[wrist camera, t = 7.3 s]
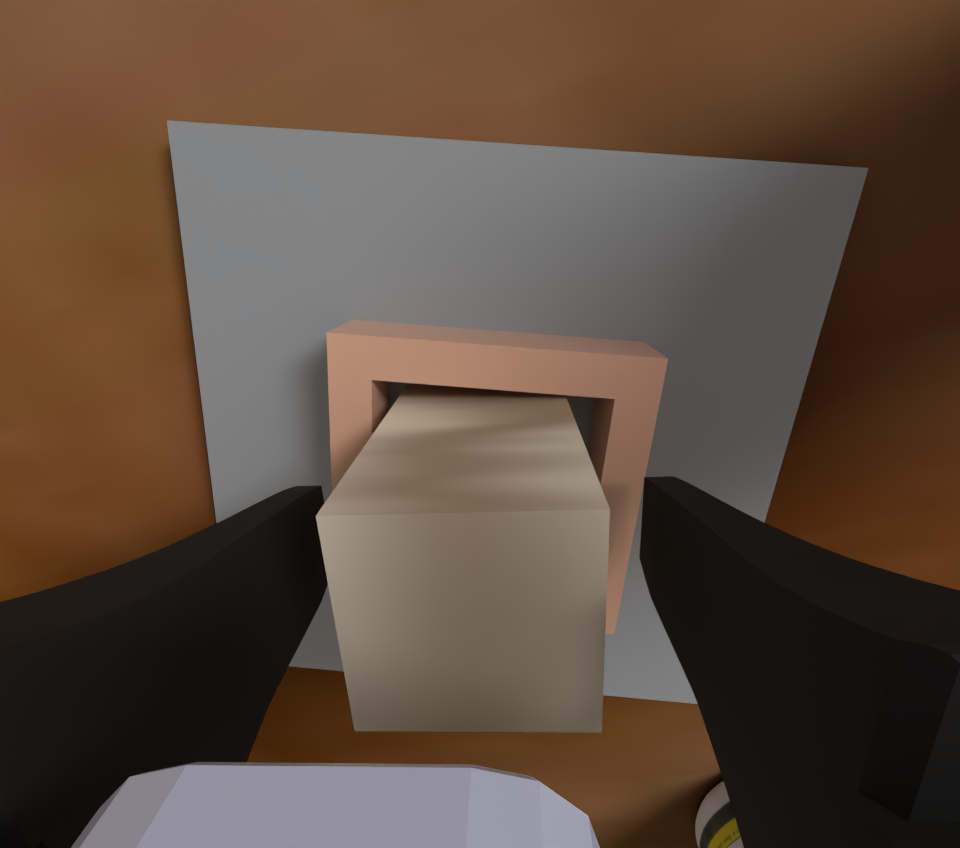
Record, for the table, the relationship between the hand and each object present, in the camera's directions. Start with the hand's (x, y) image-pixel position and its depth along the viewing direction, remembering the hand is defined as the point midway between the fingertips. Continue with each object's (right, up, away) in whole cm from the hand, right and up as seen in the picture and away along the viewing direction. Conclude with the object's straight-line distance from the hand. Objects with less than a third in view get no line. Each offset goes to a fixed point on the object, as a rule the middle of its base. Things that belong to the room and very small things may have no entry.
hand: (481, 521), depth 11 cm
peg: (0, +1, +3) cm, 3 cm away
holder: (0, +1, +4) cm, 4 cm away
